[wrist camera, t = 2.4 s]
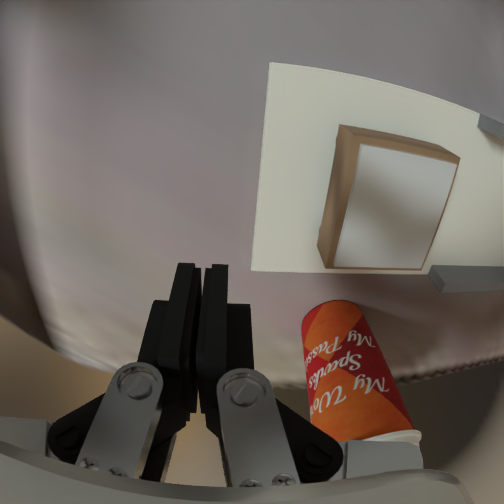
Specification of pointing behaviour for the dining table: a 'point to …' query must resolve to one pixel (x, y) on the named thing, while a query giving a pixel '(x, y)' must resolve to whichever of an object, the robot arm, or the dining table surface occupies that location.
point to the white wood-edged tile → (384, 200)
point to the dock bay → (386, 120)
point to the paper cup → (351, 378)
